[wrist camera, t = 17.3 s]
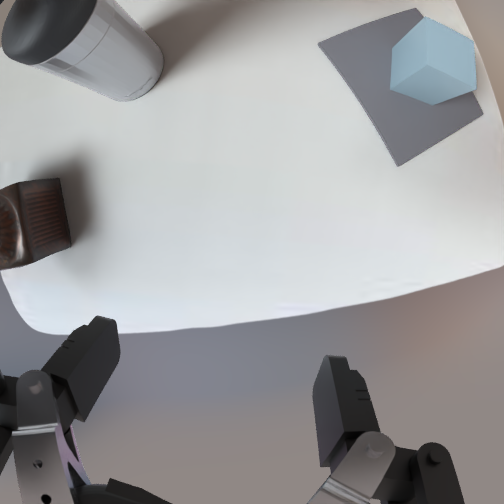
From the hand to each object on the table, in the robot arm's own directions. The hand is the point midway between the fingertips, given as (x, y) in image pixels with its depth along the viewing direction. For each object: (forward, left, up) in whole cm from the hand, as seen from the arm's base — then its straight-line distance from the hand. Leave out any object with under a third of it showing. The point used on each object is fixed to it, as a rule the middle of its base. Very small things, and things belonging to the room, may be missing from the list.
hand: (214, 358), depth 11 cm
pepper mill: (-17, -26, -26) cm, 41 cm away
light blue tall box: (-7, +29, -25) cm, 39 cm away
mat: (-7, +29, -26) cm, 39 cm away
